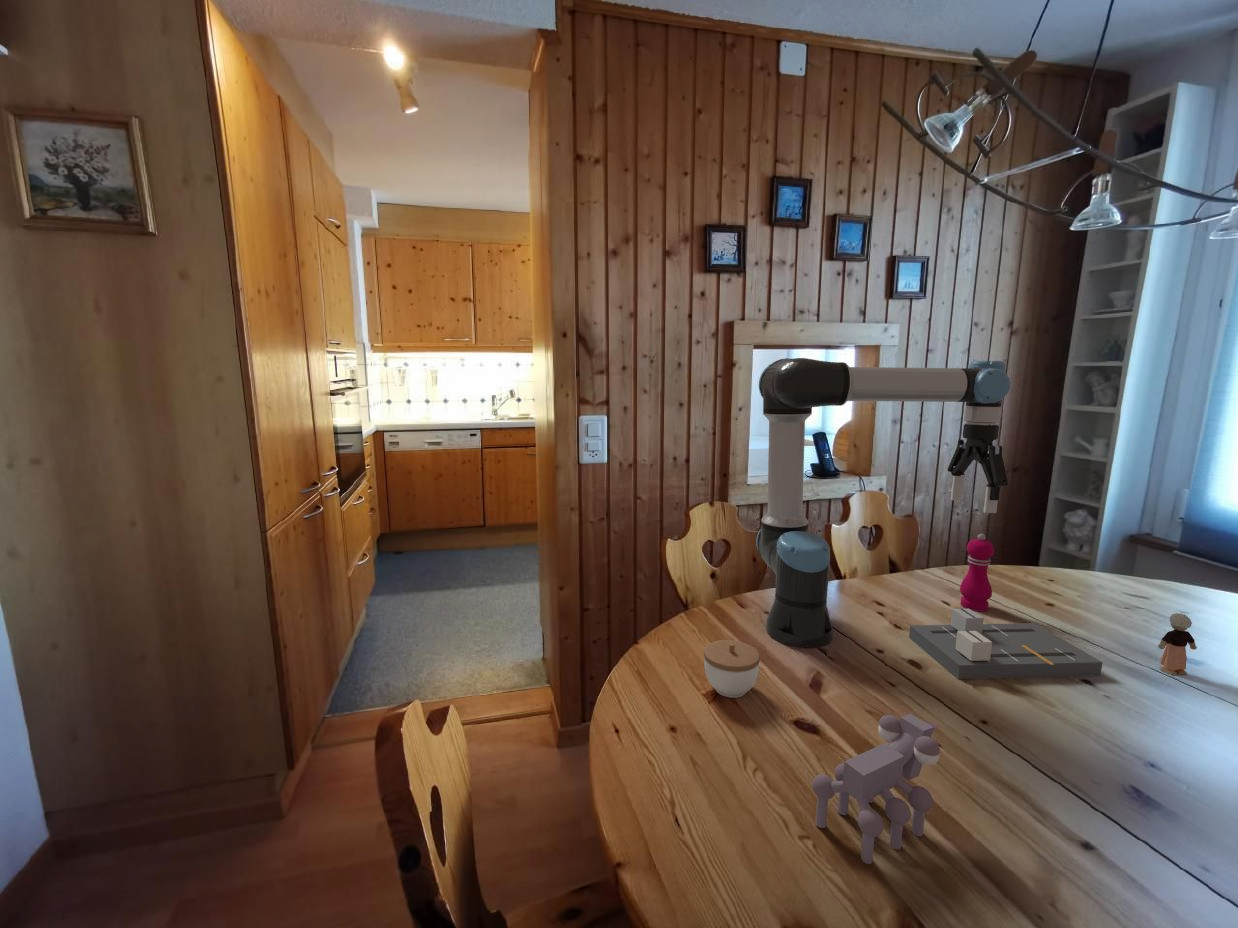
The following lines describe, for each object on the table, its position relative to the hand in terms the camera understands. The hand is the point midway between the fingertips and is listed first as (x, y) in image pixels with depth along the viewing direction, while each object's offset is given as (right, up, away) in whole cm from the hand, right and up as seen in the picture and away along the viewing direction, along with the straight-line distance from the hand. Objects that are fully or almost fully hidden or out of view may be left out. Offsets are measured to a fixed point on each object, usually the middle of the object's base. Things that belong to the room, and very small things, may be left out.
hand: (972, 506), depth 143 cm
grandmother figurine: (+24, -33, -27) cm, 49 cm away
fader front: (-17, -29, -27) cm, 43 cm away
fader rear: (-11, -27, -16) cm, 33 cm away
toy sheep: (-53, -39, -65) cm, 93 cm away
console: (-7, -31, -20) cm, 38 cm away
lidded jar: (-69, -34, -33) cm, 83 cm away
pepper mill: (+4, -27, +5) cm, 28 cm away
